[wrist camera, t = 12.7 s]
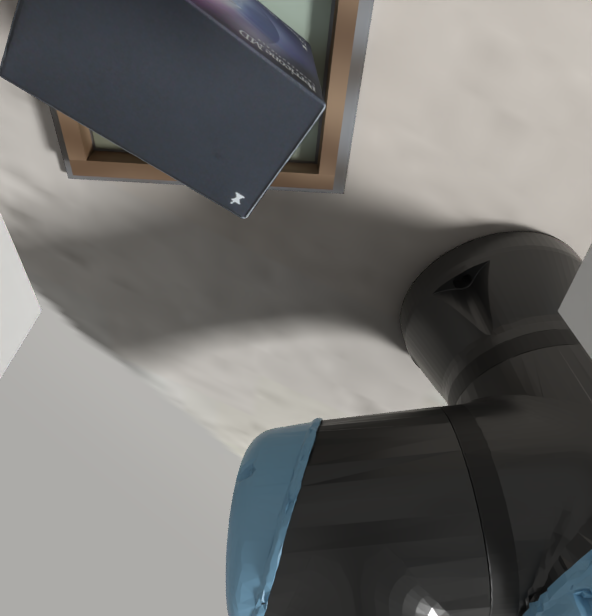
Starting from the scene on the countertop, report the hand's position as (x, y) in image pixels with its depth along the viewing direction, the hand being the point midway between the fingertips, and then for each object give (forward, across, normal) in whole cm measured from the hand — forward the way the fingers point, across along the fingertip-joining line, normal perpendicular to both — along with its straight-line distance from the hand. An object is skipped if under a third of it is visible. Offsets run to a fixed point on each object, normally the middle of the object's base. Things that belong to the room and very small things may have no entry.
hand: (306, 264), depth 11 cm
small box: (+20, +5, -1) cm, 20 cm away
